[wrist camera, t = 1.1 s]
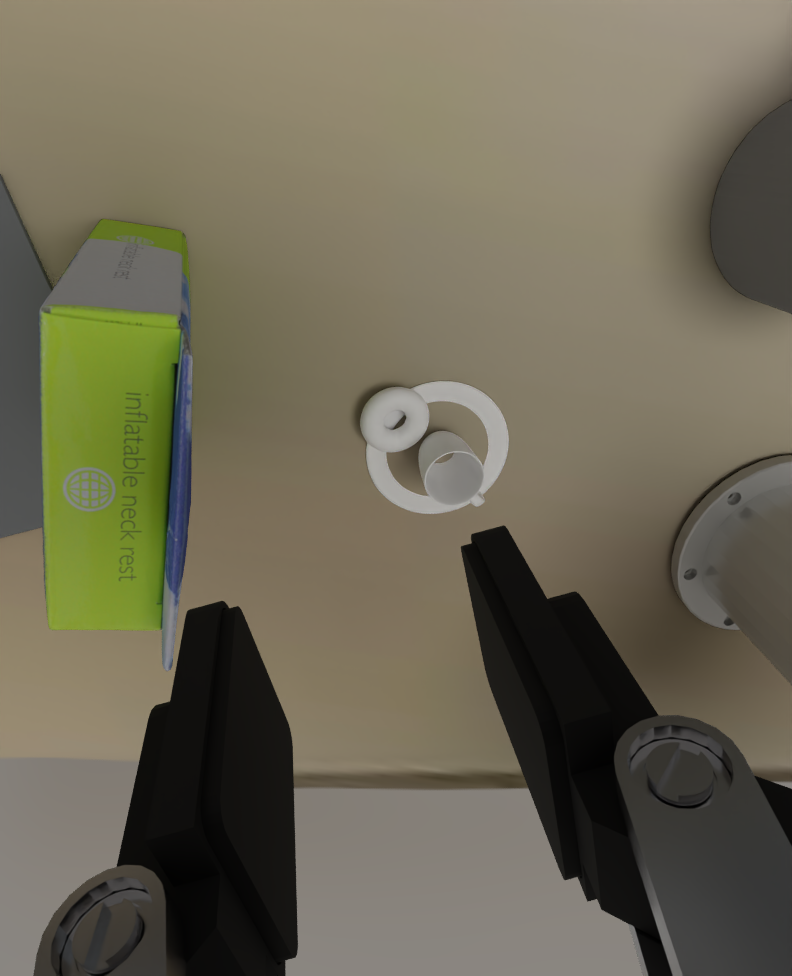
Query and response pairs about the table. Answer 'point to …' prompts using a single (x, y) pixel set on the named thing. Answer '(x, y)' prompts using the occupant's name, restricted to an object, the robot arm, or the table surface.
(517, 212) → the table surface
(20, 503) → the mat
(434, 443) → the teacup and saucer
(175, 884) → the robot arm
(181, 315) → the box
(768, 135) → the coffee mug
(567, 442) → the table surface
